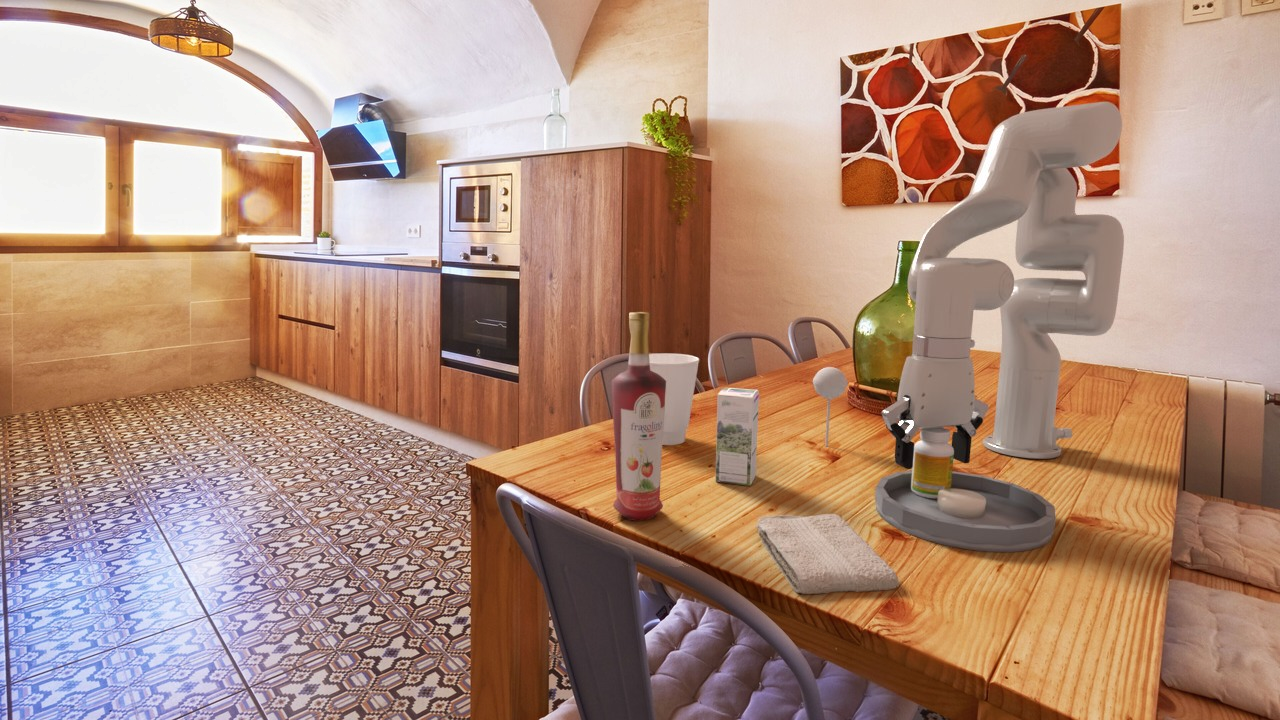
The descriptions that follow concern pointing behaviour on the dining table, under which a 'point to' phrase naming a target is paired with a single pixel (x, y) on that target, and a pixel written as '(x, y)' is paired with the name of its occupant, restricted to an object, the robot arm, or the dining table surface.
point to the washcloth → (823, 555)
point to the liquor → (638, 428)
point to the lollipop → (829, 387)
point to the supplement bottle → (932, 463)
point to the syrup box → (737, 435)
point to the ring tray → (968, 513)
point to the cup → (676, 392)
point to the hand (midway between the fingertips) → (932, 463)
